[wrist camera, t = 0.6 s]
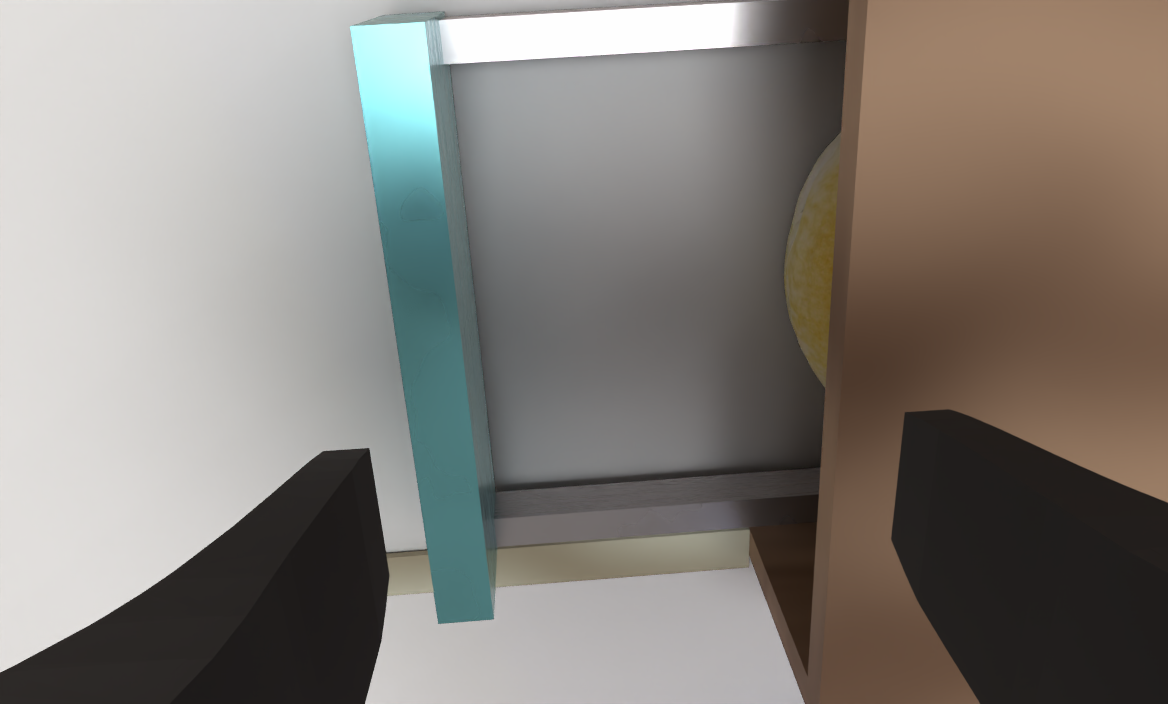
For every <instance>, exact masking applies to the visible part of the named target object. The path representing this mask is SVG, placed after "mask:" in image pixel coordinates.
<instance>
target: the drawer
mask: <svg viewBox="0 0 1168 704" xmlns="http://www.w3.org/2000/svg"><path fill="white" fill-rule="evenodd" d="M848 12H849V0H724V1H707V2H690V3H673V4H656V5H639V6H622V7H605V8H587V9H570V10H553V11H536V12H519V13H502V14H485V15H468V16H451V17H444V12H429V13H412V14H394V15H383V16H380V17H377V18H374V19H371V20H368V21H365V22H362V23H359V24H356V25H353V26H350V29H351V36H352V42H353V49H354V56H355V63H356V69H357V76H358V83H359V90H360V96H361V103H362V110H363V117H364V124H365V130H366V137H367V144H368V151H369V157H370V164H371V171H372V178H373V185H374V191H375V198H376V205H377V212H378V218H379V225H380V232H381V239H382V246H383V252H384V259H385V266H386V273H387V279H388V286H389V293H390V300H391V307H392V313H393V320H394V327H395V334H396V340H397V347H398V354H399V361H400V368H401V374H402V381H403V388H404V395H405V401H406V408H407V415H408V422H409V429H410V435H411V442H412V449H413V456H414V462H415V469H416V476H417V483H418V490H419V496H420V503H421V510H422V517H423V523H424V530H425V537H426V544H427V550H428V557H429V564H430V571H431V578H432V584H433V591H434V598H435V605H436V611H437V618H438V624H442V623H454V622H467V621H479V620H492V619H494V604H495V585H496V566H497V548H498V547H503V546H516V545H529V544H542V543H554V542H567V541H580V540H593V539H606V538H619V537H632V536H645V535H657V534H670V533H683V532H696V531H709V530H722V529H735V528H747V527H760V526H773V525H786V524H799V523H812V522H817V517H818V501H819V484H820V468H821V467H820V468H807V469H794V470H781V471H767V472H754V473H741V474H728V475H715V476H701V477H688V478H675V479H662V480H649V481H635V482H622V483H609V484H596V485H583V486H569V487H556V488H543V489H530V490H517V491H503V492H496V491H495V482H494V473H493V463H492V454H491V445H490V435H489V426H488V417H487V407H486V398H485V389H484V380H483V370H482V361H481V352H480V342H479V333H478V324H477V314H476V305H475V296H474V287H473V277H472V268H471V259H470V249H469V240H468V231H467V221H466V212H465V203H464V194H463V184H462V175H461V166H460V156H459V147H458V138H457V128H456V119H455V110H454V101H453V91H452V82H451V73H450V64H459V63H476V62H492V61H509V60H525V59H542V58H558V57H575V56H591V55H608V54H624V53H641V52H658V51H674V50H691V49H707V48H724V47H740V46H757V45H773V44H790V43H806V42H823V41H839V40H847V28H848Z"/></svg>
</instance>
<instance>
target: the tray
mask: <svg viewBox="0 0 1168 704" xmlns="http://www.w3.org/2000/svg"><path fill="white" fill-rule="evenodd" d="M945 409H950V410H954V411H957V412H960V413H963V414H965V415H968V416H971V417H973V418H976V419H978V420H980V421H983V422H985V423H987V424H990V425H992V426H994V427H997V428H999V429H1001V430H1003V431H1005V432H1008V433H1010V434H1012V435H1014V436H1016V437H1018V438H1021V439H1023V440H1025V441H1027V442H1029V443H1031V444H1034V445H1036V446H1038V447H1040V448H1042V449H1044V450H1047V451H1049V452H1051V453H1053V454H1055V455H1057V456H1060V457H1062V458H1064V459H1066V460H1068V461H1071V462H1073V463H1075V464H1077V465H1079V466H1082V467H1084V468H1086V469H1088V470H1091V471H1093V472H1095V473H1097V474H1100V475H1102V476H1104V477H1107V478H1109V479H1111V480H1114V481H1116V482H1118V483H1121V484H1123V485H1125V486H1128V487H1130V488H1133V489H1135V490H1138V491H1140V492H1143V493H1145V494H1148V495H1150V496H1153V497H1155V498H1158V499H1160V500H1163V501H1165V502H1167V503H1168V0H849V12H848V28H847V44H846V61H845V77H844V93H843V109H842V126H841V142H840V158H839V175H838V191H837V207H836V224H835V240H834V256H833V272H832V289H831V305H830V321H829V338H828V354H827V370H826V387H825V403H824V419H823V435H822V452H821V468H820V484H819V501H818V517H817V522H812V523H799V524H786V525H773V526H760V527H747V528H735V529H722V530H709V531H696V532H683V533H670V534H657V535H645V536H632V537H619V538H606V539H593V540H580V541H567V542H554V543H542V544H529V545H516V546H503V547H498V548H497V566H496V585H495V587H506V586H519V585H532V584H544V583H557V582H569V581H582V580H595V579H607V578H620V577H633V576H645V575H658V574H670V573H683V572H696V571H708V570H721V569H734V568H746V567H749V556H750V559H751V561H752V564H753V567H754V569H755V572H756V575H757V577H758V580H759V583H760V585H761V588H762V591H763V593H764V596H765V599H766V601H767V604H768V607H769V609H770V612H771V615H772V617H773V620H774V623H775V625H776V628H777V631H778V633H779V636H780V639H781V641H782V644H783V647H784V649H785V652H786V655H787V657H788V660H789V662H790V665H791V668H792V670H793V673H794V676H795V678H796V681H797V684H798V686H799V689H800V692H801V694H802V697H803V700H804V702H805V704H980V703H979V701H978V699H977V698H976V696H975V695H974V693H973V691H972V690H971V688H970V687H969V685H968V683H967V682H966V680H965V678H964V677H963V675H962V674H961V672H960V670H959V669H958V667H957V666H956V664H955V662H954V661H953V659H952V658H951V656H950V654H949V653H948V651H947V650H946V648H945V646H944V645H943V643H942V641H941V640H940V638H939V636H938V635H937V633H936V631H935V630H934V628H933V626H932V625H931V623H930V622H929V620H928V618H927V617H926V615H925V613H924V611H923V610H922V608H921V606H920V605H919V603H918V601H917V599H916V597H915V595H914V592H913V590H912V588H911V586H910V584H909V581H908V579H907V577H906V575H905V572H904V570H903V567H902V565H901V563H900V560H899V558H898V555H897V553H896V550H895V548H894V545H893V543H892V541H891V534H892V525H893V516H894V506H895V497H896V488H897V479H898V469H899V460H900V451H901V442H902V433H903V423H904V414H905V412H915V411H930V410H945ZM386 556H387V562H388V568H389V575H390V576H389V585H388V593H387V596H393V595H405V594H418V593H430V592H434V591H433V584H432V578H431V571H430V564H429V557H428V550H425V551H412V552H400V553H387V554H386Z"/></svg>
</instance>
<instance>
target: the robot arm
mask: <svg viewBox="0 0 1168 704" xmlns="http://www.w3.org/2000/svg"><path fill="white" fill-rule="evenodd" d="M891 541H892V543H893V545H894V548H895V550H896V553H897V555H898V558H899V560H900V563H901V565H902V567H903V570H904V572H905V575H906V577H907V579H908V581H909V584H910V586H911V588H912V590H913V592H914V595H915V597H916V599H917V601H918V603H919V605H920V606H921V608H922V610H923V611H924V613H925V615H926V617H927V618H928V620H929V622H930V623H931V625H932V626H933V628H934V630H935V631H936V633H937V635H938V636H939V638H940V640H941V641H942V643H943V645H944V646H945V648H946V650H947V651H948V653H949V654H950V656H951V658H952V659H953V661H954V662H955V664H956V666H957V667H958V669H959V670H960V672H961V674H962V675H963V677H964V678H965V680H966V682H967V683H968V685H969V687H970V688H971V690H972V691H973V693H974V695H975V696H976V698H977V699H978V701H979V703H980V704H1168V503H1167V502H1165V501H1163V500H1160V499H1158V498H1155V497H1153V496H1150V495H1148V494H1145V493H1143V492H1140V491H1138V490H1135V489H1133V488H1130V487H1128V486H1125V485H1123V484H1121V483H1118V482H1116V481H1114V480H1111V479H1109V478H1107V477H1104V476H1102V475H1100V474H1097V473H1095V472H1093V471H1091V470H1088V469H1086V468H1084V467H1082V466H1079V465H1077V464H1075V463H1073V462H1071V461H1068V460H1066V459H1064V458H1062V457H1060V456H1057V455H1055V454H1053V453H1051V452H1049V451H1047V450H1044V449H1042V448H1040V447H1038V446H1036V445H1034V444H1031V443H1029V442H1027V441H1025V440H1023V439H1021V438H1018V437H1016V436H1014V435H1012V434H1010V433H1008V432H1005V431H1003V430H1001V429H999V428H997V427H994V426H992V425H990V424H987V423H985V422H983V421H980V420H978V419H976V418H973V417H971V416H968V415H965V414H963V413H960V412H957V411H954V410H950V409H945V410H930V411H915V412H905V414H904V423H903V433H902V442H901V451H900V460H899V469H898V479H897V488H896V497H895V506H894V516H893V525H892V534H891ZM389 576H390V575H389V568H388V562H387V556H386V550H385V544H384V537H383V531H382V525H381V519H380V513H379V506H378V500H377V494H376V488H375V481H374V475H373V469H372V463H371V457H370V450H369V448H365V449H351V450H336V451H323V452H322V453H320V454H319V455H317V456H316V457H315V458H313V459H312V460H311V461H310V462H308V463H307V464H306V465H305V466H304V467H302V468H301V469H300V470H299V471H298V472H296V473H295V474H294V475H293V476H292V477H291V478H290V479H288V480H287V481H286V482H285V483H284V484H283V485H281V486H280V487H279V488H278V489H277V490H276V491H275V492H273V493H272V494H271V495H270V496H269V497H267V498H266V499H265V500H264V501H263V502H262V503H260V504H259V505H258V506H257V507H256V508H254V509H253V510H252V511H251V512H250V513H248V514H247V515H246V516H245V517H244V518H243V519H241V520H240V521H239V522H238V523H237V524H235V525H234V526H233V527H232V528H230V529H229V530H228V531H226V532H225V533H224V534H223V535H221V536H220V537H219V538H217V539H216V540H215V541H213V542H212V543H211V544H209V545H208V546H207V547H206V548H204V549H203V550H202V551H200V552H199V553H198V554H196V555H195V556H194V557H192V558H191V559H190V560H188V561H187V562H186V563H185V564H183V565H182V566H181V567H179V568H178V569H177V570H175V571H174V572H172V573H171V574H170V575H168V576H167V577H165V578H164V579H162V580H161V581H159V582H158V583H156V584H155V585H154V586H152V587H151V588H149V589H148V590H146V591H145V592H143V593H142V594H140V595H138V596H137V597H135V598H134V599H132V600H130V601H129V602H127V603H126V604H124V605H122V606H121V607H119V608H118V609H116V610H114V611H113V612H111V613H110V614H108V615H106V616H105V617H103V618H101V619H100V620H98V621H96V622H95V623H93V624H91V625H89V626H88V627H86V628H84V629H82V630H80V631H78V632H76V633H75V634H73V635H71V636H69V637H67V638H65V639H63V640H61V641H60V642H58V643H56V644H54V645H52V646H50V647H48V648H47V649H45V650H43V651H41V652H39V653H37V654H35V655H33V656H32V657H30V658H28V659H26V660H24V661H22V662H20V663H19V664H17V665H15V666H13V667H11V668H9V669H7V670H5V671H3V672H1V673H0V704H365V701H366V697H367V693H368V690H369V686H370V682H371V678H372V675H373V671H374V667H375V663H376V660H377V656H378V652H379V648H380V644H381V639H382V632H383V625H384V618H385V610H386V602H387V593H388V585H389Z"/></svg>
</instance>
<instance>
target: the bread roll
mask: <svg viewBox="0 0 1168 704" xmlns="http://www.w3.org/2000/svg"><path fill="white" fill-rule="evenodd" d="M840 142H841V132H840V133H839V134H838V135H837V136H836V137H835V139H834V140H833V141H832V142H831V143H830V144H829V145H828V146H827V147H826V149H825V150H824V151H823V153H822V154H821V155H820V157H819V158H818V159H817V161H816V163H815V165H814V166H813V168H812V170H811V172H810V174H809V176H808V178H807V180H806V182H805V184H804V186H803V188H802V190H801V192H800V195H799V198H798V201H797V204H796V208H795V212H794V217H793V221H792V225H791V229H790V232H789V236H788V240H787V247H786V254H785V263H784V285H785V296H786V302H787V309H788V312H789V318H790V322H791V324H792V326H793V329H794V331H795V333H796V336H797V339H798V341H797V342H799V347H800V348H801V350H802V351H803V353H804V355H805V357H806V358H807V359H808V362H809V365H810V367H811V368H812V370H813V372H814V373H815V374H816V376H817V377H818V379H819V380H820V382H821V383H822V385H823V386H824V387H826V370H827V354H828V338H829V321H830V305H831V289H832V272H833V256H834V240H835V224H836V207H837V191H838V175H839V158H840Z"/></svg>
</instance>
